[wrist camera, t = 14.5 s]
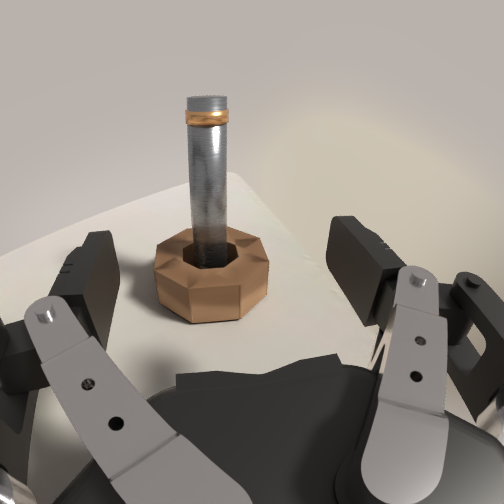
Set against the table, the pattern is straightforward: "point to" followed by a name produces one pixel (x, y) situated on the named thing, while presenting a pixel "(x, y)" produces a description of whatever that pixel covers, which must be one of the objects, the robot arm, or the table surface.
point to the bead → (211, 278)
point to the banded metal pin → (208, 178)
